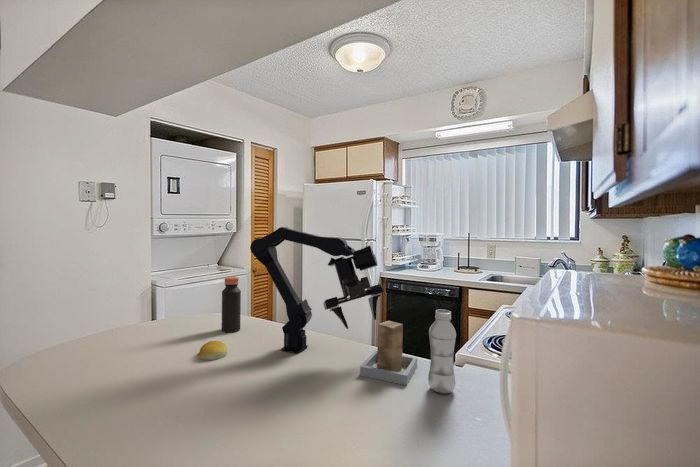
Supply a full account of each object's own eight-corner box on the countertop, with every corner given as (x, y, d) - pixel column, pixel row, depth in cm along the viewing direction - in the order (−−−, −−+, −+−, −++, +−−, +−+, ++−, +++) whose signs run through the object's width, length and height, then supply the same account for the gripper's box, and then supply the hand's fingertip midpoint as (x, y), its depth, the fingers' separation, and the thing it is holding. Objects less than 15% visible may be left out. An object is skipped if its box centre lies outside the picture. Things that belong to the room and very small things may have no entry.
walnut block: (377, 369, 95) (378, 324, 95) (387, 364, 99) (388, 320, 99) (391, 375, 92) (392, 328, 92) (401, 369, 96) (402, 324, 95)
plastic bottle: (454, 399, 81) (456, 316, 80) (425, 393, 83) (427, 312, 82) (455, 387, 87) (458, 309, 86) (429, 382, 89) (431, 307, 88)
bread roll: (196, 362, 99) (196, 349, 99) (201, 351, 108) (201, 339, 108) (226, 360, 101) (226, 346, 101) (228, 349, 110) (228, 337, 110)
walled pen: (359, 375, 92) (360, 366, 92) (375, 358, 104) (375, 350, 104) (406, 385, 87) (407, 375, 87) (417, 366, 99) (417, 357, 99)
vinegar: (226, 327, 132) (227, 276, 132) (243, 327, 132) (243, 276, 131) (218, 332, 126) (218, 279, 125) (235, 333, 125) (236, 279, 124)
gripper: (321, 279, 97) (336, 333, 94) (381, 263, 102) (397, 314, 98) (317, 284, 108) (331, 333, 104) (371, 269, 112) (386, 315, 109)
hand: (361, 324), depth 104 cm, fingers open, 9 cm apart
